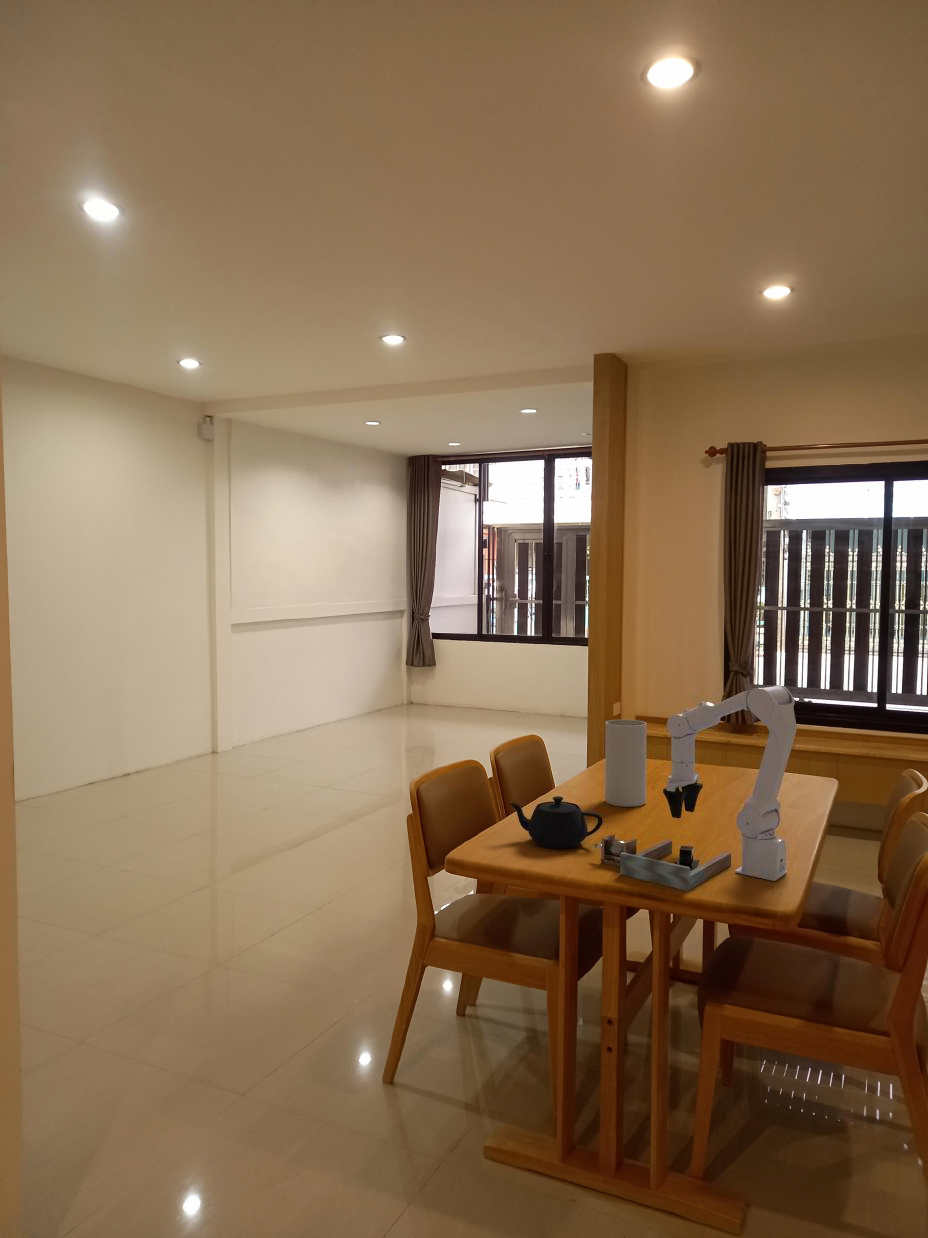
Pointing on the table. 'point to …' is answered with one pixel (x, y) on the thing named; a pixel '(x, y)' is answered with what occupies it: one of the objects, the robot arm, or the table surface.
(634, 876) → the bay
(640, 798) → the cylinder vase
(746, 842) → the robot arm
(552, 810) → the teapot
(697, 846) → the table surface
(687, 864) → the black holder block
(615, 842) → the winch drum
